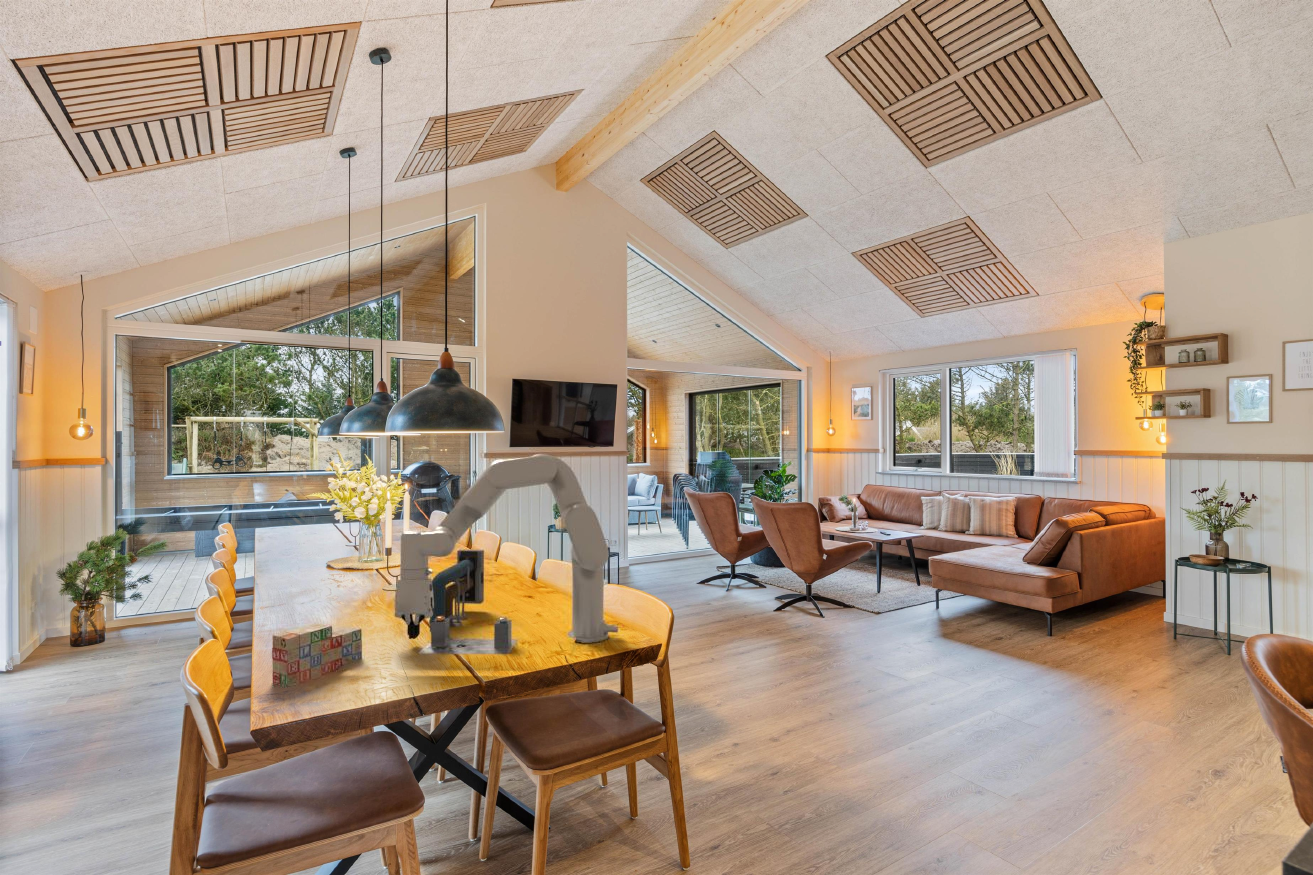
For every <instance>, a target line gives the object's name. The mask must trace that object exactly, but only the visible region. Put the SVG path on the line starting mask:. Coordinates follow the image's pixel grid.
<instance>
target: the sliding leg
mask: <svg viewBox="0 0 1313 875" xmlns="http://www.w3.org/2000/svg"><path fill="white" fill-rule="evenodd" d="M450 639H451V637H450V619H445V616H437V617H436V619H435V620H433V621H432V622H431V632H430V642H431V647H446V646H447V645H448V644H449V640H450Z"/></svg>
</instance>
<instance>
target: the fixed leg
mask: <svg viewBox="0 0 1313 875" xmlns="http://www.w3.org/2000/svg"><path fill="white" fill-rule="evenodd" d="M493 626H494V628H493V629H494V630H493V631H494V632H493V636H494V637H493V639H494V648H509V647H510V645H511V639H512V619H508V617H506V616H503V617H498V619H497V620H495V622H494V624H493Z"/></svg>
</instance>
